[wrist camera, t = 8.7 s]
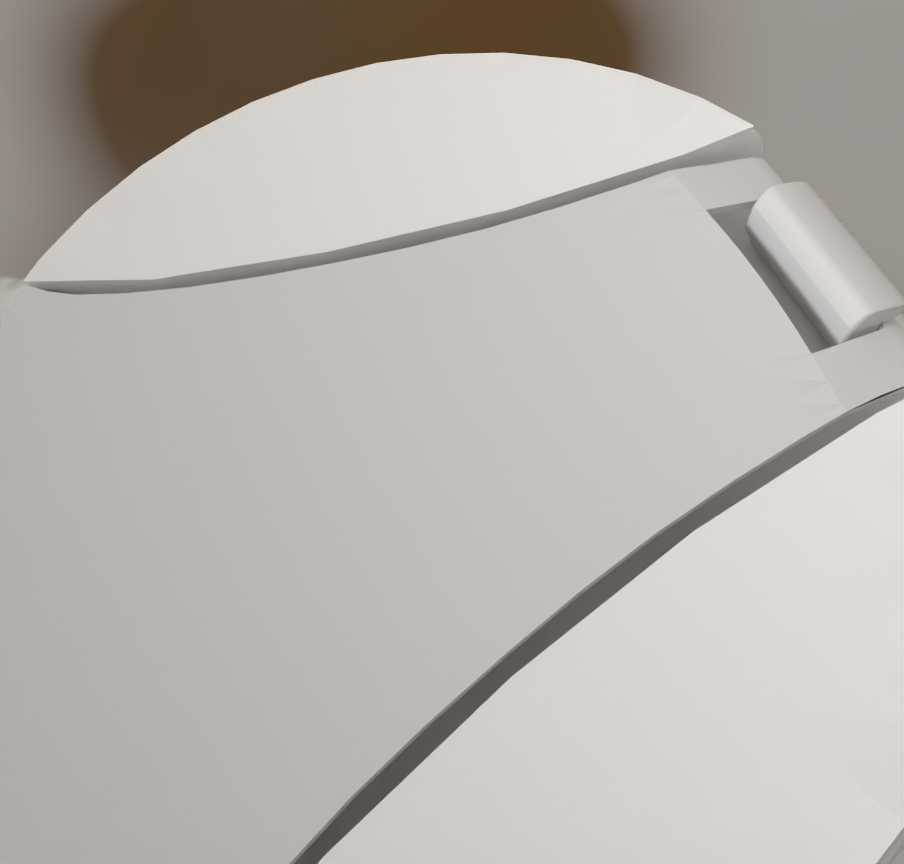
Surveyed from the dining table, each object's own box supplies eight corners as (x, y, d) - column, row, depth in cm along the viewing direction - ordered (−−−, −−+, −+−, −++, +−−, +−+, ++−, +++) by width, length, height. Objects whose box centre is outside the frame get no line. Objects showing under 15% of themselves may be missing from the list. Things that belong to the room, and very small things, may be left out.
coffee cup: (619, 475, 21) (654, -125, 7) (801, 803, 17) (1528, 806, 4) (318, 611, 21) (-212, 254, 7) (439, 971, 17) (-172, 1610, 4)
